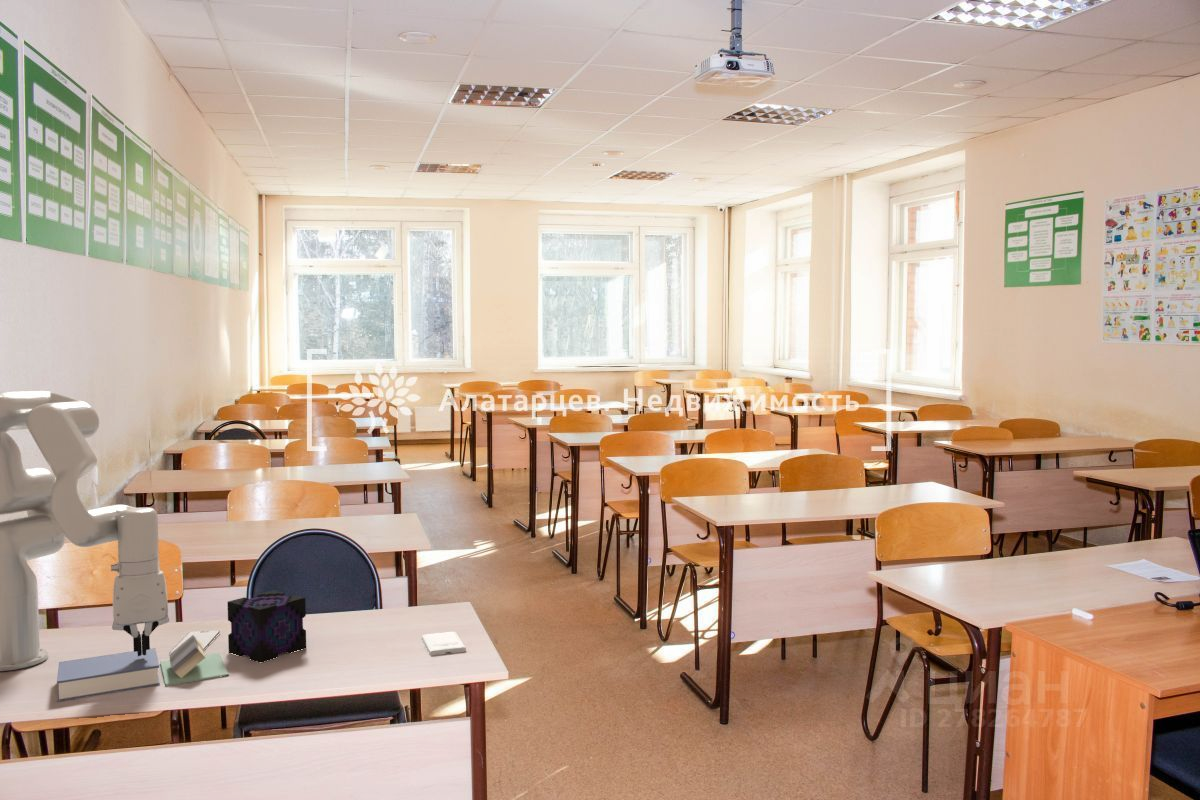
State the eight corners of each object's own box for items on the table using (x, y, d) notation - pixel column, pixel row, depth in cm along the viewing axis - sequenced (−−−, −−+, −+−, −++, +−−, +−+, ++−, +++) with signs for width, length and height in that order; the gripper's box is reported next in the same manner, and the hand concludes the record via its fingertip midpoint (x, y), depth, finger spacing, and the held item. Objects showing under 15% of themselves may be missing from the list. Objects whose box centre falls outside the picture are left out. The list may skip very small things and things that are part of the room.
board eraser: (192, 634, 197) (202, 644, 198) (169, 654, 195) (178, 664, 196) (195, 647, 188) (205, 657, 189) (171, 668, 186) (181, 678, 187)
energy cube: (274, 639, 214) (273, 590, 213) (306, 648, 207) (305, 597, 207) (228, 653, 204) (227, 601, 203) (260, 663, 197) (259, 609, 197)
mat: (160, 663, 197) (160, 661, 197) (219, 654, 203) (219, 652, 203) (165, 686, 183) (165, 684, 183) (228, 675, 189) (228, 673, 189)
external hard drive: (455, 637, 216) (466, 653, 204) (421, 641, 213) (429, 657, 202) (455, 631, 216) (466, 646, 204) (421, 634, 213) (429, 650, 202)
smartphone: (167, 653, 203) (189, 631, 218) (168, 658, 203) (189, 636, 218) (201, 651, 204) (220, 630, 219) (201, 656, 204) (221, 634, 219)
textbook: (59, 681, 187) (58, 662, 186) (155, 666, 195) (155, 648, 195) (57, 701, 175) (56, 681, 175) (159, 684, 184) (159, 665, 184)
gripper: (98, 575, 180) (101, 665, 181) (179, 566, 188) (182, 653, 188) (98, 568, 187) (101, 654, 188) (177, 559, 194) (179, 643, 195)
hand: (141, 653), depth 188 cm, fingers closed
